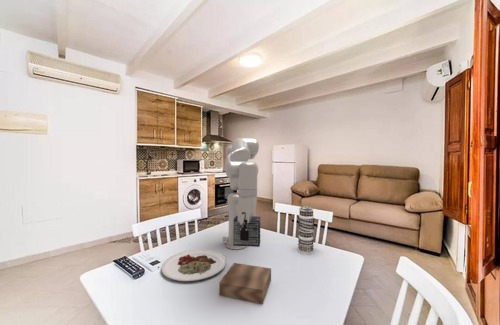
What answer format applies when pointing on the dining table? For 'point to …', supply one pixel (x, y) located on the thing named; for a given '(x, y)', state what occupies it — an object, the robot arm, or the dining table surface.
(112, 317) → the dining table surface
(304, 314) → the dining table surface
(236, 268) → the block
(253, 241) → the small box
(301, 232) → the decorative candle
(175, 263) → the plated food
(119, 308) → the dining table surface
